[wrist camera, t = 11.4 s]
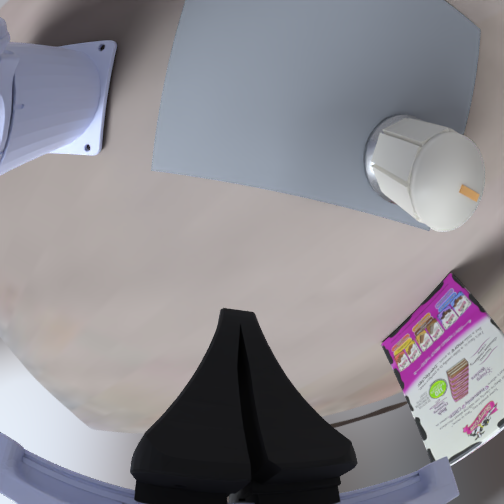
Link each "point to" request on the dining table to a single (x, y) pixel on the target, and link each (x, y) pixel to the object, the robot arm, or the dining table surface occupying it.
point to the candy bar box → (451, 371)
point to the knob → (429, 172)
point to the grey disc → (371, 147)
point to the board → (308, 90)
